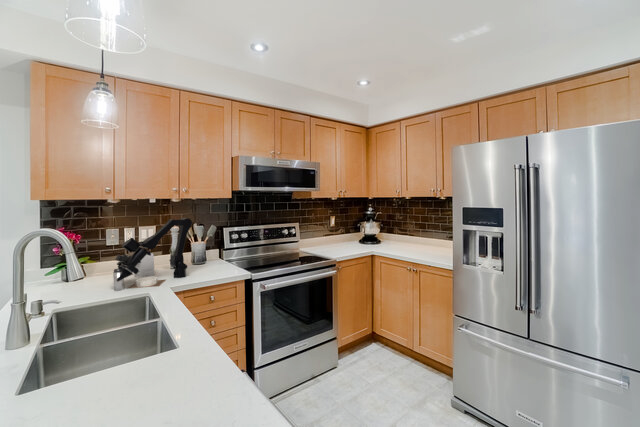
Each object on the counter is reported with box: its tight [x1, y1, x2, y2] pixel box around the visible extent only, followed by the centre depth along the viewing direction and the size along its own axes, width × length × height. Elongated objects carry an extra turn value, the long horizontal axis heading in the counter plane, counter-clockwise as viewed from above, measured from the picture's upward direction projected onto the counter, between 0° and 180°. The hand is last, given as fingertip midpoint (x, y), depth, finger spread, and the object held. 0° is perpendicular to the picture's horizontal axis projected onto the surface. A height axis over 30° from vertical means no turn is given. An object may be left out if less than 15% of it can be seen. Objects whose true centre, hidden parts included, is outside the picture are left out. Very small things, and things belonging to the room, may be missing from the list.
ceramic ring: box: [134, 276, 159, 288], centre depth 174 cm, size 11×11×3 cm
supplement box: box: [133, 252, 155, 278], centre depth 197 cm, size 9×9×15 cm
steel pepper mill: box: [112, 267, 125, 292], centre depth 163 cm, size 5×5×12 cm
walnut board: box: [126, 279, 167, 289], centre depth 174 cm, size 17×15×1 cm
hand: (115, 280), depth 162 cm, fingers open, 5 cm apart
